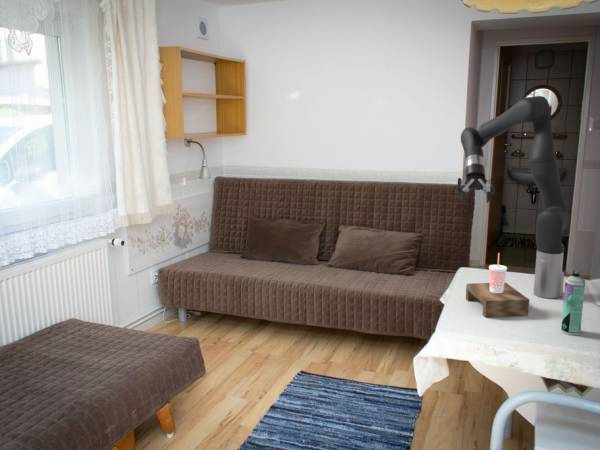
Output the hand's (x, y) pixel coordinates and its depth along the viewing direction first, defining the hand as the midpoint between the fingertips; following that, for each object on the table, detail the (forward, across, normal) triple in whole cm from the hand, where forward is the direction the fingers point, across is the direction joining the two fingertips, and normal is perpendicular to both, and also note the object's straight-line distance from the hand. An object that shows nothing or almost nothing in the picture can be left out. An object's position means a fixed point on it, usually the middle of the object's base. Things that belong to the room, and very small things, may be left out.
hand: (476, 201), depth 214 cm
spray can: (+55, +26, -5) cm, 61 cm away
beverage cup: (+36, +6, +4) cm, 37 cm away
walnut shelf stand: (+41, +6, +8) cm, 42 cm away
